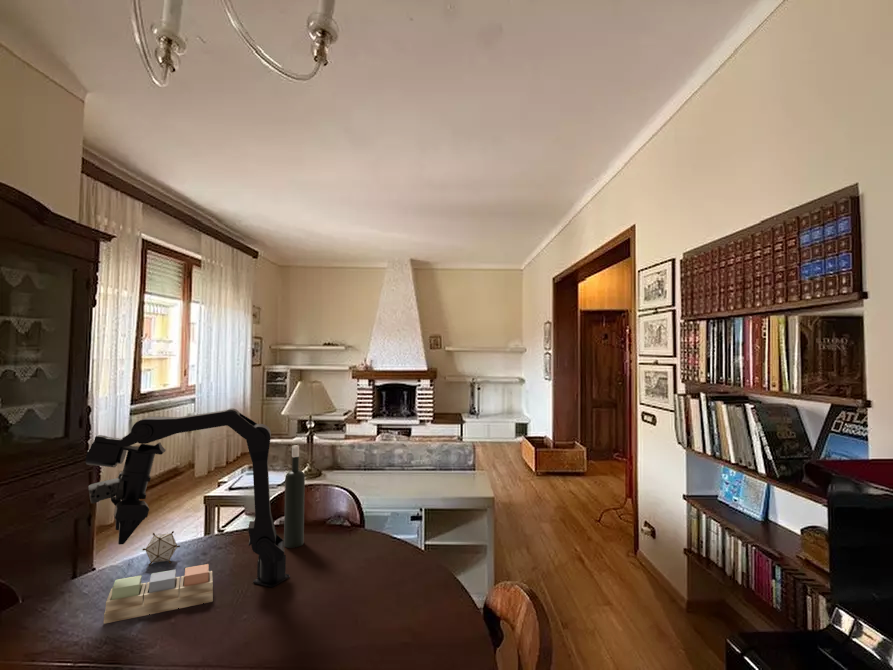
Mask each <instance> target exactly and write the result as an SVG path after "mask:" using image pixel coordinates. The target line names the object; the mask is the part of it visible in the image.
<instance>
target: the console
mask: <svg viewBox="0 0 893 670" xmlns="http://www.w3.org/2000/svg"><path fill="white" fill-rule="evenodd" d="M184 580H185V575H182V576H176V583H175V588H174V589H168V590H163V591H157V592H152V593H149V582H150V581H148V582H141V591H140V594H139V595H136V596H131V597H125V598H120V599H115V600H112V588H111V589H110V592H109V594H108V596H107V599H106V602H105V610H104V614H103V625H106V624H109V623H115V622H119V621H124V620H129V619H134V618H140V617H145V616H149V614H150V615H154V614H159V613H164V612H168V611H173V610H179V609H184V608H188V607H192V606H198V605H202V604H203V603H204V604H209V603H213V601H214V598H213V597H214V584H213V580H214V579H213V570H209V575H208V582H206V583H200V584H195V585H190V586H184ZM178 608H179V609H178Z"/></svg>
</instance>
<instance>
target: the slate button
mask: <svg viewBox="0 0 893 670" xmlns="http://www.w3.org/2000/svg"><path fill="white" fill-rule="evenodd" d="M176 570H177V569H171V570H166V571H159V572H153V573H150V574H151V575H150V579H149V581H148V582H149V593H152V592H157V591H163V590H168V589H174V588H175V583H176V577H177V571H176Z"/></svg>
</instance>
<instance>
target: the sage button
mask: <svg viewBox="0 0 893 670" xmlns="http://www.w3.org/2000/svg"><path fill="white" fill-rule="evenodd" d="M141 583H142V575H136V576H130V577H123V578H119V579H118V578H117V579H115V581H114V583H113V586H112V588H111V589H112V600H115V599H120V598H125V597H131V596H136V595H139V594H140V591H141Z"/></svg>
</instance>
